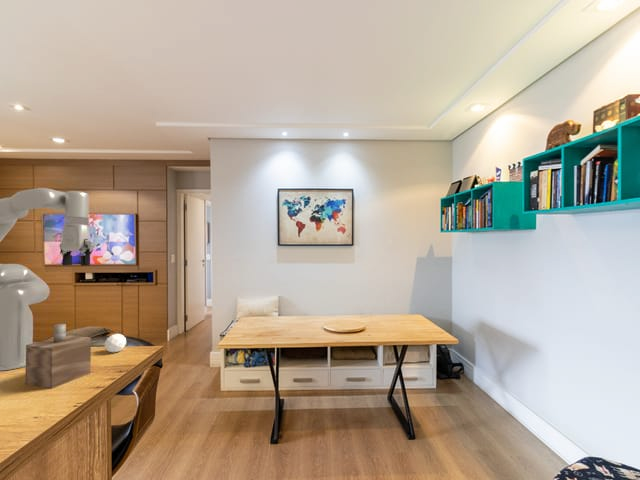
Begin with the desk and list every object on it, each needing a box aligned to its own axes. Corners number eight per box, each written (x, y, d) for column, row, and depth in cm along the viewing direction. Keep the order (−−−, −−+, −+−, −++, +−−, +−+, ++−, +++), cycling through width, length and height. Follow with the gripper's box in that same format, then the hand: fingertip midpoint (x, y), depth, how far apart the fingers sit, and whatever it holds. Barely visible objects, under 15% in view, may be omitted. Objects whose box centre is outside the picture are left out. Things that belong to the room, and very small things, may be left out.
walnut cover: (25, 383, 102) (26, 328, 102) (65, 369, 113) (66, 319, 114) (51, 388, 98) (52, 331, 98) (90, 373, 110) (91, 322, 110)
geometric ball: (110, 358, 132) (103, 342, 134) (130, 348, 137) (123, 332, 139) (107, 354, 126) (99, 337, 128) (128, 344, 131) (121, 328, 133)
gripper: (50, 222, 120) (50, 265, 120) (83, 221, 115) (82, 266, 115) (71, 223, 127) (70, 264, 127) (102, 222, 122) (101, 265, 122)
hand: (76, 265), depth 121 cm, fingers open, 9 cm apart
